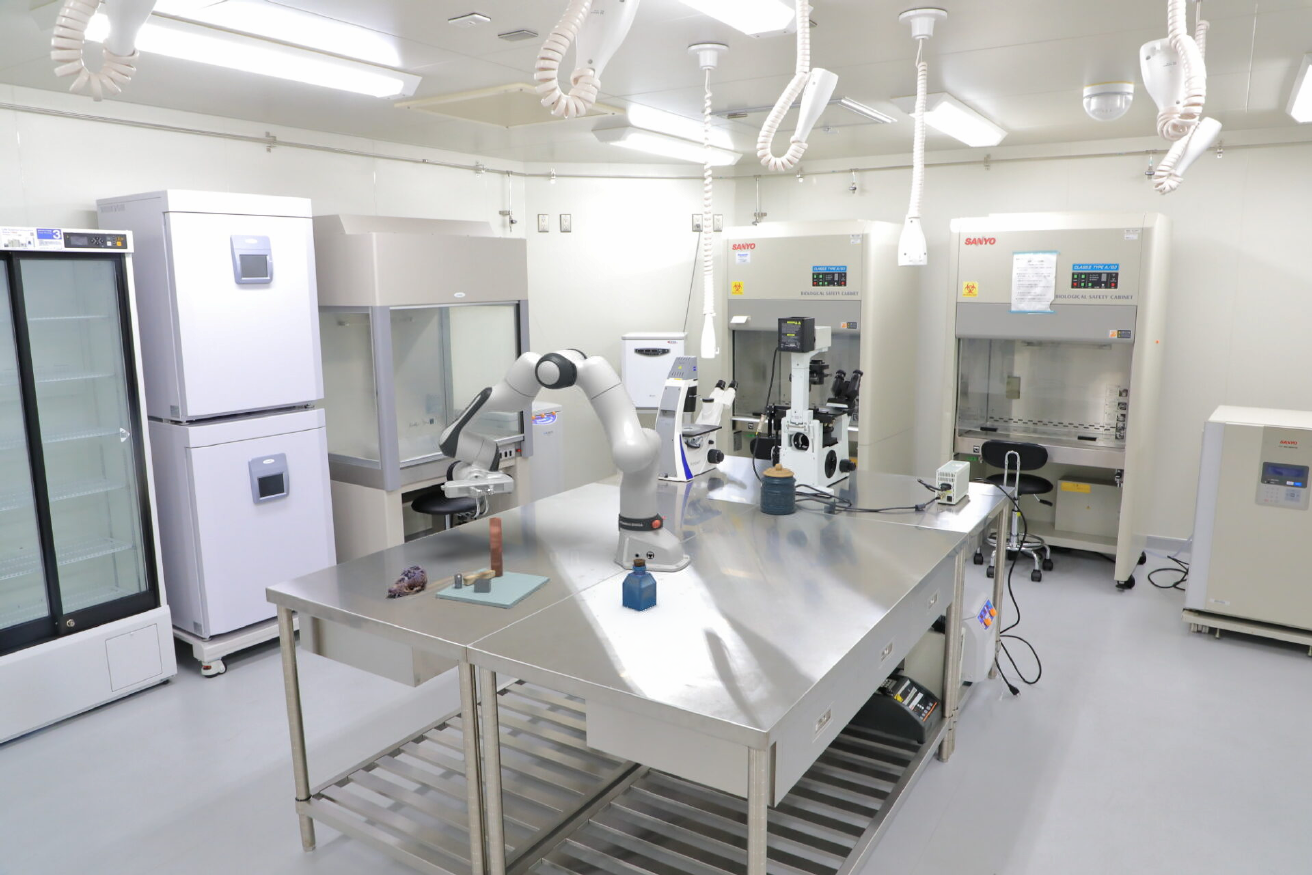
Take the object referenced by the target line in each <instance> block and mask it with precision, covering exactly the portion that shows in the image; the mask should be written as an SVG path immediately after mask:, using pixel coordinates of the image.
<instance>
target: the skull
mask: <svg viewBox="0 0 1312 875" xmlns="http://www.w3.org/2000/svg"><path fill="white" fill-rule="evenodd" d="M427 584H428V577H427V572H426V569H424V567H422V566H421V565H419V564H418V565H417V564H416V565H414V566H411V567H407V568H405V569H403V570H402V572H401V573H400V576H399V577H398V579H397V580H396V581H395V583H393V585H391V586H390V587H389V588H388V590H387V595H389V596H390V594H391V595H392V596H394V595H395V599H397V597H398V595H400V596H401V597H405V596H407V594H408V595H410V594H412V593H414V592H416V591H422V590H423V589H425V587H426V586H427ZM412 588H413V590H411V589H412ZM400 596H399V597H400Z"/></svg>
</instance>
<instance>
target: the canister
mask: <svg viewBox="0 0 1312 875" xmlns="http://www.w3.org/2000/svg"><path fill="white" fill-rule="evenodd" d="M762 474H763V476H762V477H760V478H759V480H760V481H761V486H760V487H759V488H760V496H759V497H760V501H759V502H760V503H759V508H760V510H759V511H761V512H762V513H765V514H767V515H775V516H776V515H777V516H784V515H792V514H793V513H795V511H796V508H797V507H796V493H797V488H796V482H797V478H796V477H794V476H795V472H794V471H792V470H791V469H789V468H786V467H783V465H782V463H776V464H775V466H774V467H769V468H766V470H764V471H762Z"/></svg>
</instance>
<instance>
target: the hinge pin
mask: <svg viewBox="0 0 1312 875" xmlns="http://www.w3.org/2000/svg"><path fill="white" fill-rule="evenodd" d="M462 579H463V574H461V573H455V574H454V577H453V581H454V583H455V589H461V588H462Z"/></svg>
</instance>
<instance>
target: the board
mask: <svg viewBox="0 0 1312 875" xmlns="http://www.w3.org/2000/svg"><path fill="white" fill-rule="evenodd" d="M490 569H491V568H480V569H478V570H476V571H473V572H472V573H471V574H469V575H468V576H470V575H474V574H477V573H480V572H483V571H487V570H490ZM489 579H491V591H490V593H474V583H473V584H470V585H465V584H463V578H462V588H461V589H455V582H453V584H451V585H448V586H447V587H445V588H444V589H442V590H440V591H438V592H436V593H435V597H436V598H438V599H445V600H452V601H455V602H456V601H457V602H458V601H459V602H465V603H472V604H477V605H485V606H490V607H497V608H503V609H511V608H512V607H514V606H515V605H517V604H519V603H520V602H521V601H523V600H524V599H526V598H528V596H530V595H532V594H534V593H535V592H536V591H537V590H539V589H540V588H542V587H544V586H545V585H546V584H548V583H549V582H551V578H550V577H549V576H540V575H535V574H534V575H533V574H528V573H527V574H526V573H519V572H518V573H517V572H513V571H512V572H511V571H504V570H503V575H501V576H495V577H492V578H489Z"/></svg>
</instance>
